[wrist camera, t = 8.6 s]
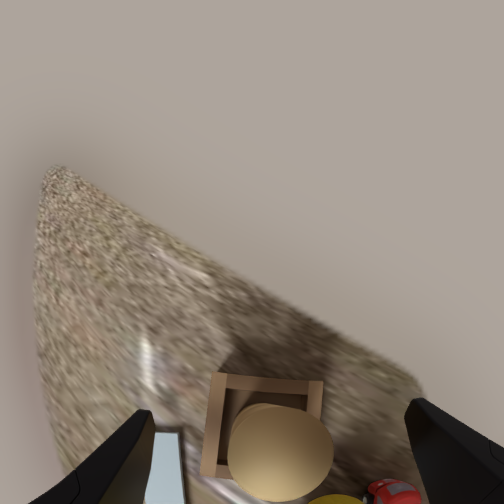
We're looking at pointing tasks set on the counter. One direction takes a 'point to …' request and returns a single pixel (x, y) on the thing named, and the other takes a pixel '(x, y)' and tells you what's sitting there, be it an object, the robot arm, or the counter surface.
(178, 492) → the plate
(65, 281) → the counter surface
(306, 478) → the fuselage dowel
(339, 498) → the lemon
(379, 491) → the toy fire truck
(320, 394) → the square wooden tray
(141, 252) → the counter surface
